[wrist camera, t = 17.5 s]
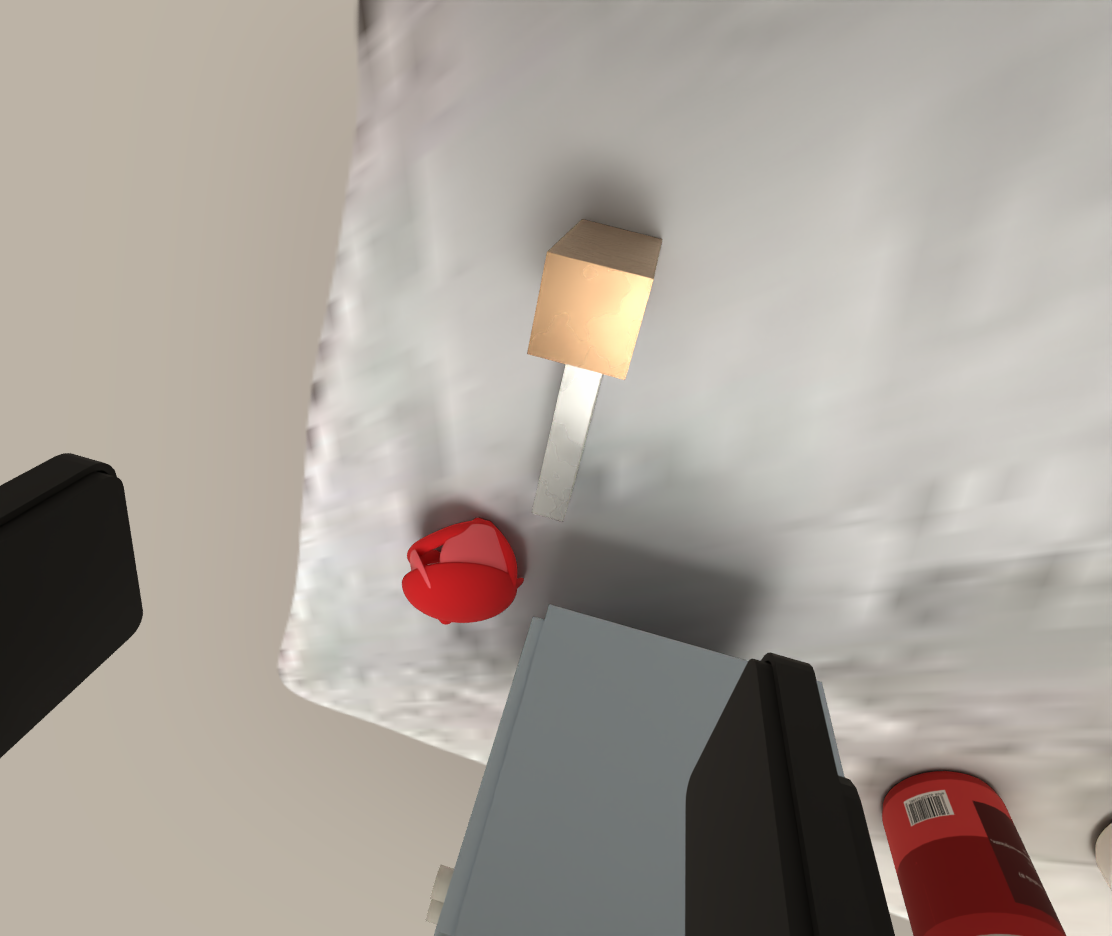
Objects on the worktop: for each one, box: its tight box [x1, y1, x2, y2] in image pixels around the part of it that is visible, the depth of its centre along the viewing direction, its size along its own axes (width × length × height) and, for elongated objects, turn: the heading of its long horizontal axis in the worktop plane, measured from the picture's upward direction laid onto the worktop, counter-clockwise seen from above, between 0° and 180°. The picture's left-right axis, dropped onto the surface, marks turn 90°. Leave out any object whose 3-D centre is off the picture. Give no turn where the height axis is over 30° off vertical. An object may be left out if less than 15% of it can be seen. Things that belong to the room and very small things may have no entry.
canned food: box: [882, 771, 1066, 936], centre depth 41 cm, size 8×8×11 cm
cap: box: [402, 518, 524, 625], centre depth 40 cm, size 8×6×6 cm
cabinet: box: [426, 604, 844, 936], centre depth 32 cm, size 15×16×25 cm
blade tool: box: [527, 219, 662, 522], centre depth 31 cm, size 15×4×9 cm, turn 168°
